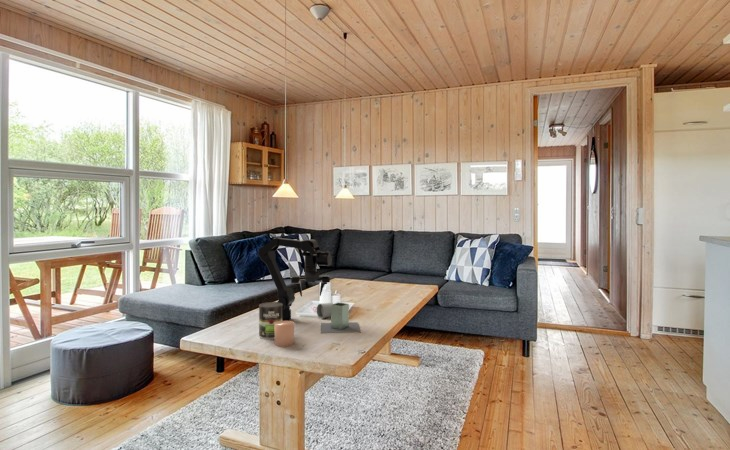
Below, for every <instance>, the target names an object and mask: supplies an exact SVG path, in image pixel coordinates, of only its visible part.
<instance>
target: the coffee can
mask: <svg viewBox="0 0 730 450" xmlns="http://www.w3.org/2000/svg"><path fill="white" fill-rule="evenodd" d="M282 306H283V304H282V303H279V302H278V301H268V302H263V303H259V305H258V312H259V313H258V322H259V323H258V331H259V332H258V337H259V338H260V339H275V332H274V324H275V323H276V322H278V321H282Z"/></svg>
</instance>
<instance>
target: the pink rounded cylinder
mask: <svg viewBox="0 0 730 450" xmlns="http://www.w3.org/2000/svg"><path fill="white" fill-rule="evenodd" d="M274 332H275V338H274V345H275V346H276V347H282V348H283V347H290V346H292V345H294V344H295V322H294V321H291V320H289V321H278V322H276V323H275V324H274Z"/></svg>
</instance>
